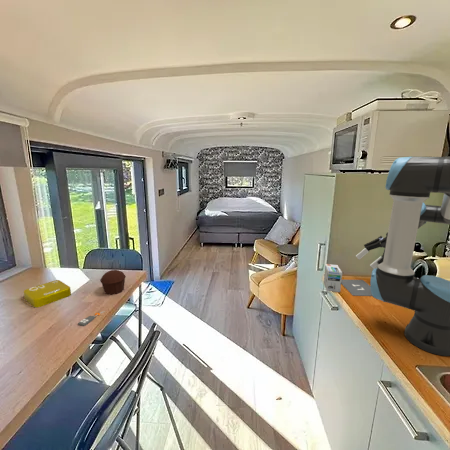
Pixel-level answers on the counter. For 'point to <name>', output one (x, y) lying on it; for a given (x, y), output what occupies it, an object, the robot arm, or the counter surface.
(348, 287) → the mat
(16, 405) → the counter surface
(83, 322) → the key chain
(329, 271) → the light bulb box
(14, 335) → the counter surface
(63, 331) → the counter surface
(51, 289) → the element tile
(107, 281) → the muffin
